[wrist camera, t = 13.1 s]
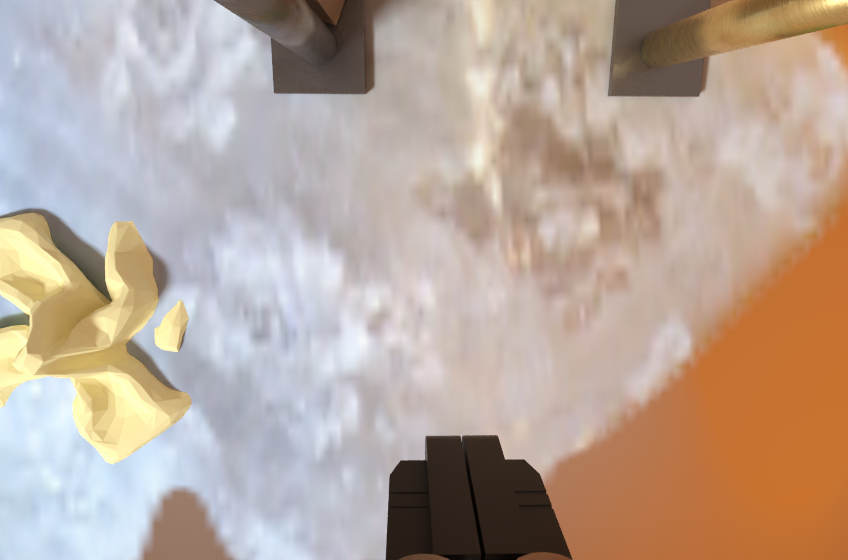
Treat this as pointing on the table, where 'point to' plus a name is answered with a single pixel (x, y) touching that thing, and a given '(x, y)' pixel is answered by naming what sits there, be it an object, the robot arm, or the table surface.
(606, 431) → the table surface
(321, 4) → the gate panel
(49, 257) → the cloth
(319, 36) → the gate frame
